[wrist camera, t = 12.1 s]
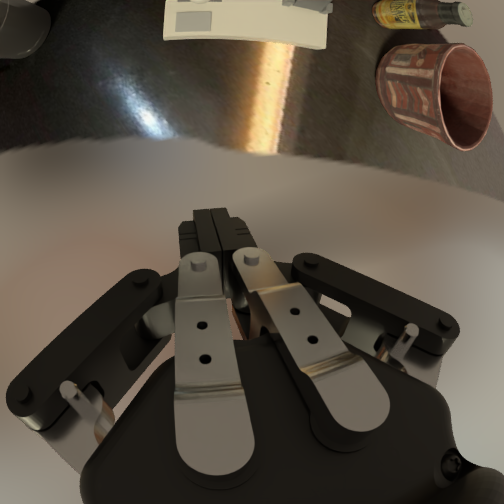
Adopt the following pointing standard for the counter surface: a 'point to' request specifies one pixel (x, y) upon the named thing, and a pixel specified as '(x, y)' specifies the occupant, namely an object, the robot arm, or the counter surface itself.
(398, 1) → the sauce bottle
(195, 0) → the grey marked lever
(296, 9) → the switch unit
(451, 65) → the pottery
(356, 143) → the counter surface
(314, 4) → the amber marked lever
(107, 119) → the counter surface
